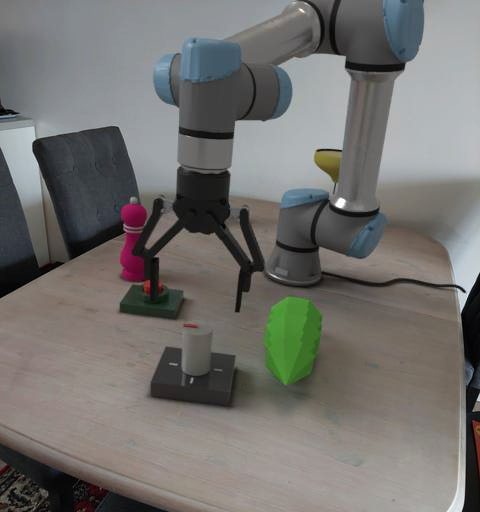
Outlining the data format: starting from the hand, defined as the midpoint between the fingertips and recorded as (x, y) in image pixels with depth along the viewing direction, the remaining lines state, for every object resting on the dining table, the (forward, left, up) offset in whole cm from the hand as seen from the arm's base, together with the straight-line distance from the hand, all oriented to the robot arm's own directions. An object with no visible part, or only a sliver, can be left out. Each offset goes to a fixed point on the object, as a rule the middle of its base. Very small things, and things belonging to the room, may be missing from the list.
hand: (196, 303), depth 75 cm
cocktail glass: (-33, -106, -15) cm, 112 cm away
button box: (+13, -26, -15) cm, 33 cm away
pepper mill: (+21, -40, -15) cm, 48 cm away
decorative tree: (-17, -9, -15) cm, 24 cm away
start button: (+13, -26, -12) cm, 31 cm away
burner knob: (-1, 0, -12) cm, 12 cm away
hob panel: (-1, 0, -15) cm, 15 cm away
